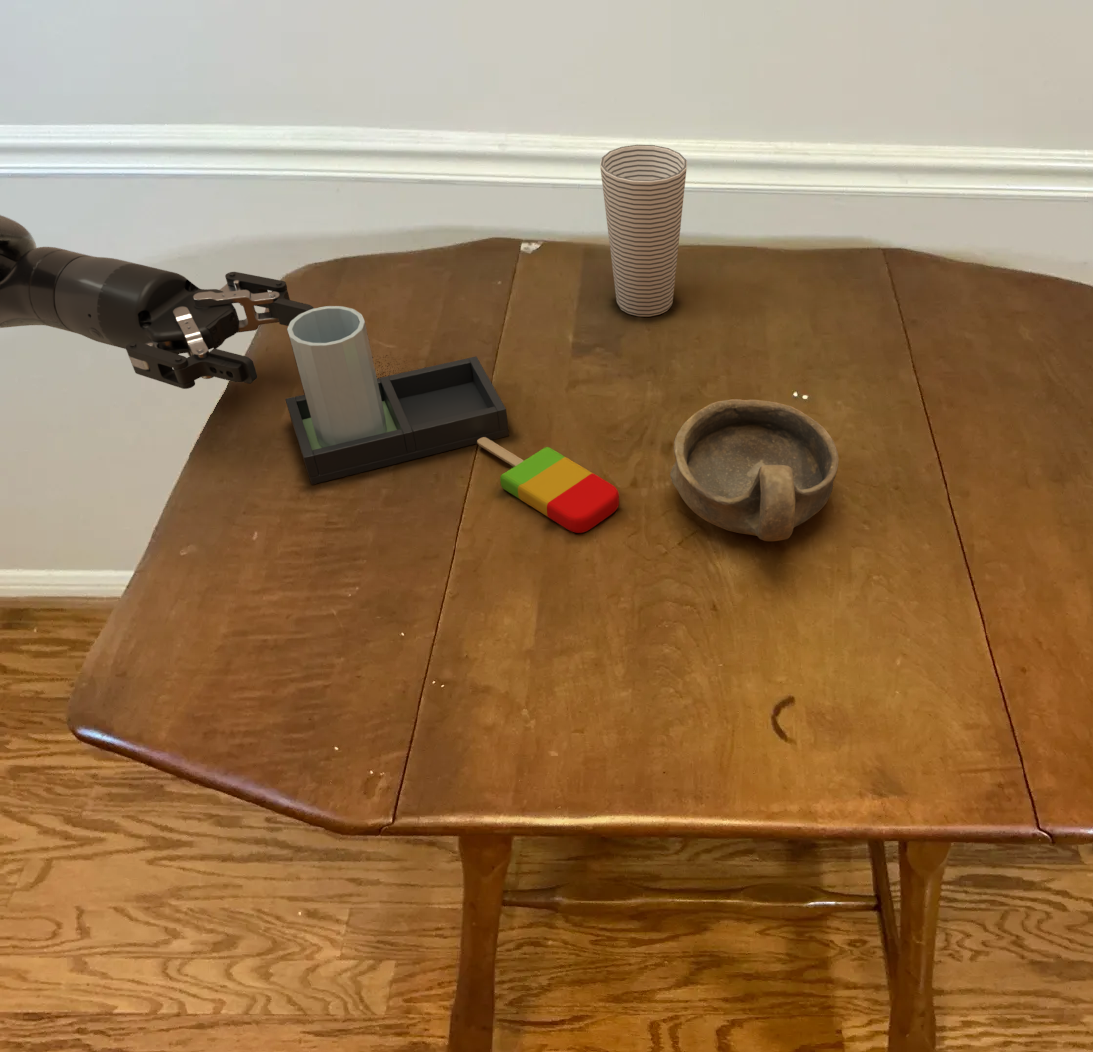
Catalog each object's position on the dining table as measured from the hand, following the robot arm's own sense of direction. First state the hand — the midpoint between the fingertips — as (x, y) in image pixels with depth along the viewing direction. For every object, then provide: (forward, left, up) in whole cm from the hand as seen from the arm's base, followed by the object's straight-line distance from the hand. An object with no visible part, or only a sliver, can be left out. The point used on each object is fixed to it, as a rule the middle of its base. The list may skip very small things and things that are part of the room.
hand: (285, 344), depth 91 cm
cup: (+37, +9, -9) cm, 39 cm away
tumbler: (+3, -3, -8) cm, 9 cm away
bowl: (+32, -26, -9) cm, 42 cm away
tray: (+8, -3, -9) cm, 12 cm away
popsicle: (+17, -15, -9) cm, 24 cm away
